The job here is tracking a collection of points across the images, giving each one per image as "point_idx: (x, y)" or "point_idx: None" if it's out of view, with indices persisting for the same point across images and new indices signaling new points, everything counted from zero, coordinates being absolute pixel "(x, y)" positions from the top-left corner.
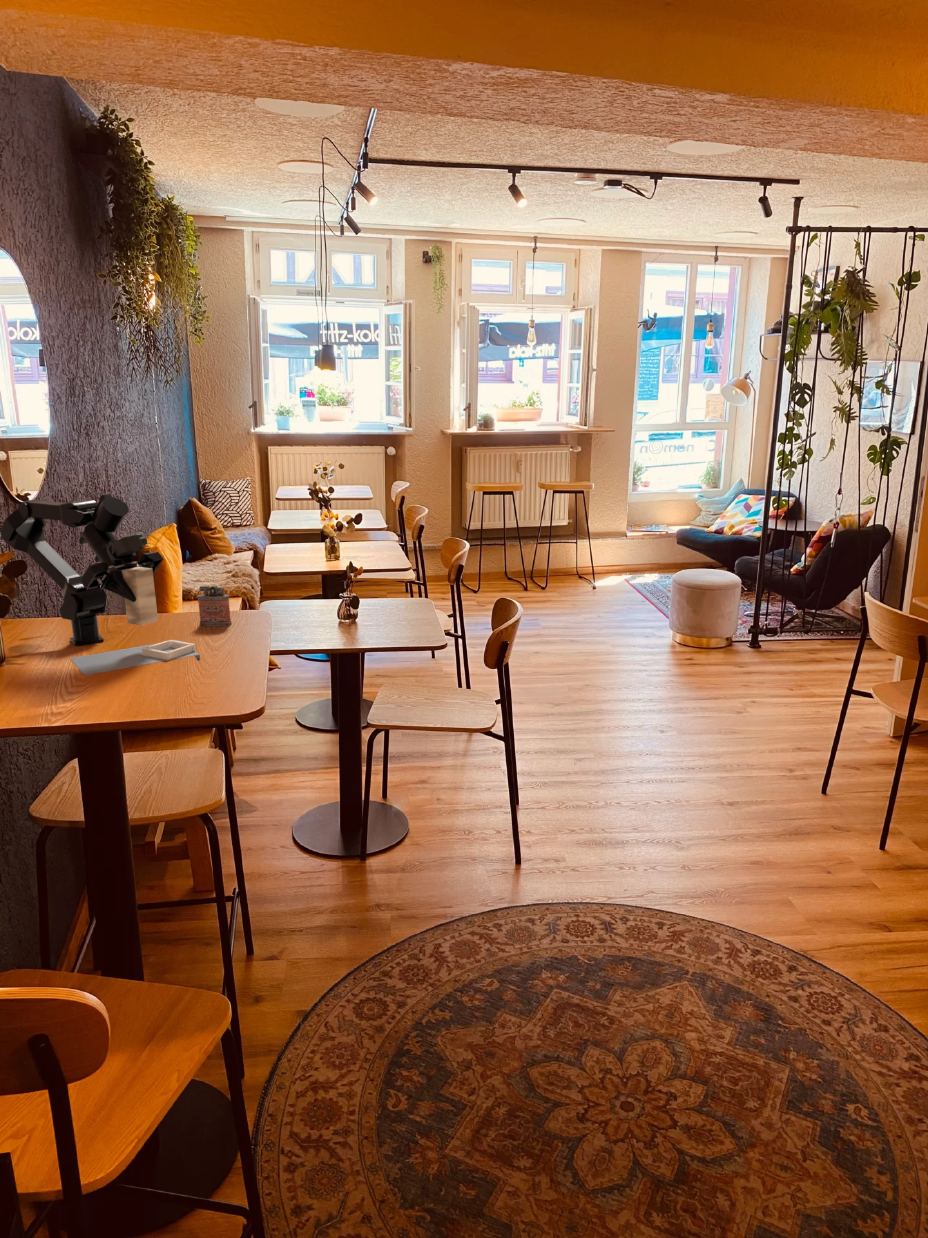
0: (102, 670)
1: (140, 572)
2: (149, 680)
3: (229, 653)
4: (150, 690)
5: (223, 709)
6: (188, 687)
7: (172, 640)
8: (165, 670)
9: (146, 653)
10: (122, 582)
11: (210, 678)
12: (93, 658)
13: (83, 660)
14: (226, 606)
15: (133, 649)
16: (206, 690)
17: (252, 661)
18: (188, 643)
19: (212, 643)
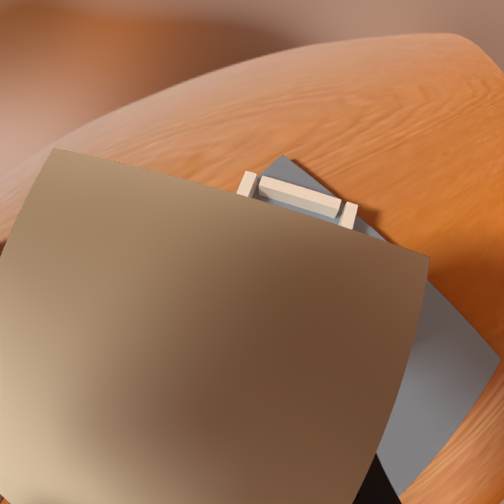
0: (470, 342)
1: (301, 227)
2: (459, 202)
3: (222, 120)
4: (493, 172)
5: (480, 59)
6: (453, 115)
7: None
8: (393, 201)
9: None
10: (367, 485)
11: (400, 94)
12: (377, 454)
13: (397, 466)
14: None
15: None
16: (448, 86)
17: (276, 63)
18: (242, 193)
19: None
